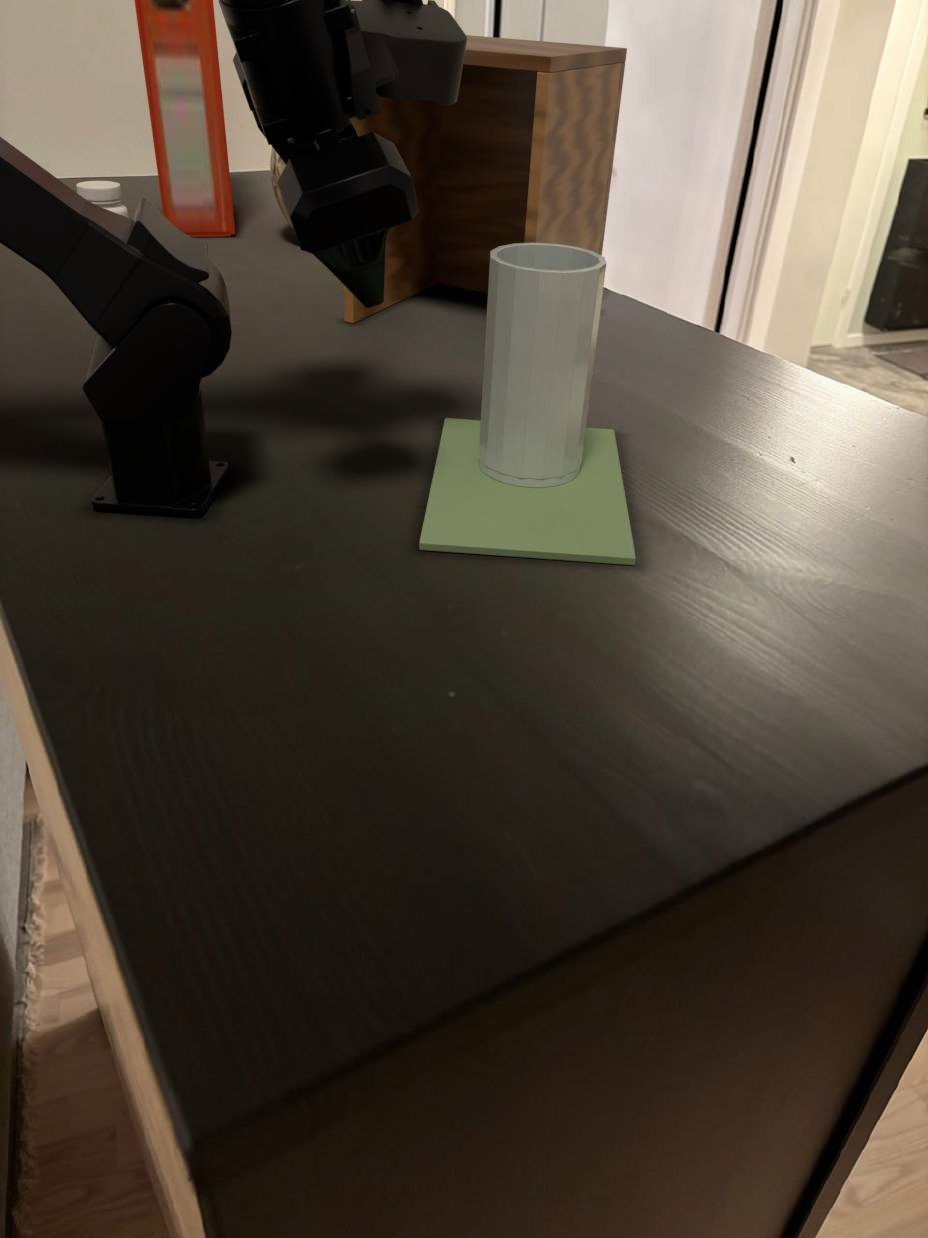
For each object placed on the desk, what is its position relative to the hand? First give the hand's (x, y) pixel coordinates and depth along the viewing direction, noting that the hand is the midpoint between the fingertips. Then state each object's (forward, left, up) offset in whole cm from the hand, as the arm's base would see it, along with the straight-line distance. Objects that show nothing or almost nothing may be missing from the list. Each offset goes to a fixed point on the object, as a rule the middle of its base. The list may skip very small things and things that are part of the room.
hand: (356, 260), depth 58 cm
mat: (-5, -12, -12) cm, 17 cm away
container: (-3, -12, -11) cm, 16 cm away
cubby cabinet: (+30, -6, -12) cm, 33 cm away
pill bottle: (+36, +30, -12) cm, 49 cm away
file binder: (+62, +29, -12) cm, 70 cm away
